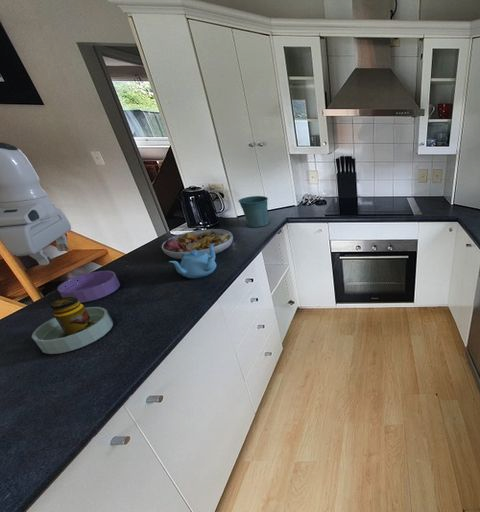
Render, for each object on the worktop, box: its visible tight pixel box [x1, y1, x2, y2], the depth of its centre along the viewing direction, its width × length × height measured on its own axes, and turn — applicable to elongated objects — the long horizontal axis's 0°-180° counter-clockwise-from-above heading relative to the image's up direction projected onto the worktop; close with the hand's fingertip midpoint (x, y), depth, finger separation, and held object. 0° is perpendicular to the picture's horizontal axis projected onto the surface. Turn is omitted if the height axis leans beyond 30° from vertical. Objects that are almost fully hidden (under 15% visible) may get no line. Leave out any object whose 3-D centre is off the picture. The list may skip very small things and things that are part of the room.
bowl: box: [161, 228, 234, 260], centre depth 137 cm, size 30×30×8 cm
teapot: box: [168, 243, 217, 279], centre depth 115 cm, size 15×15×10 cm
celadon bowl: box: [31, 306, 114, 355], centre depth 81 cm, size 15×15×5 cm
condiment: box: [50, 297, 97, 338], centre depth 79 cm, size 7×8×12 cm
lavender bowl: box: [56, 270, 121, 304], centre depth 101 cm, size 15×15×5 cm
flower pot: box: [238, 195, 270, 228], centre depth 168 cm, size 16×16×16 cm
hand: (55, 256), depth 76 cm, fingers open, 8 cm apart
